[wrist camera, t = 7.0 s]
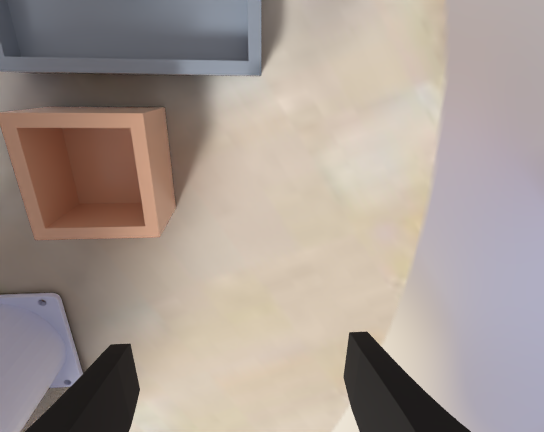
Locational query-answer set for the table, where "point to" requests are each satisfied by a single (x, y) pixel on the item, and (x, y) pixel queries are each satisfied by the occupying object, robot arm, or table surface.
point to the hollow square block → (92, 170)
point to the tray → (131, 37)
